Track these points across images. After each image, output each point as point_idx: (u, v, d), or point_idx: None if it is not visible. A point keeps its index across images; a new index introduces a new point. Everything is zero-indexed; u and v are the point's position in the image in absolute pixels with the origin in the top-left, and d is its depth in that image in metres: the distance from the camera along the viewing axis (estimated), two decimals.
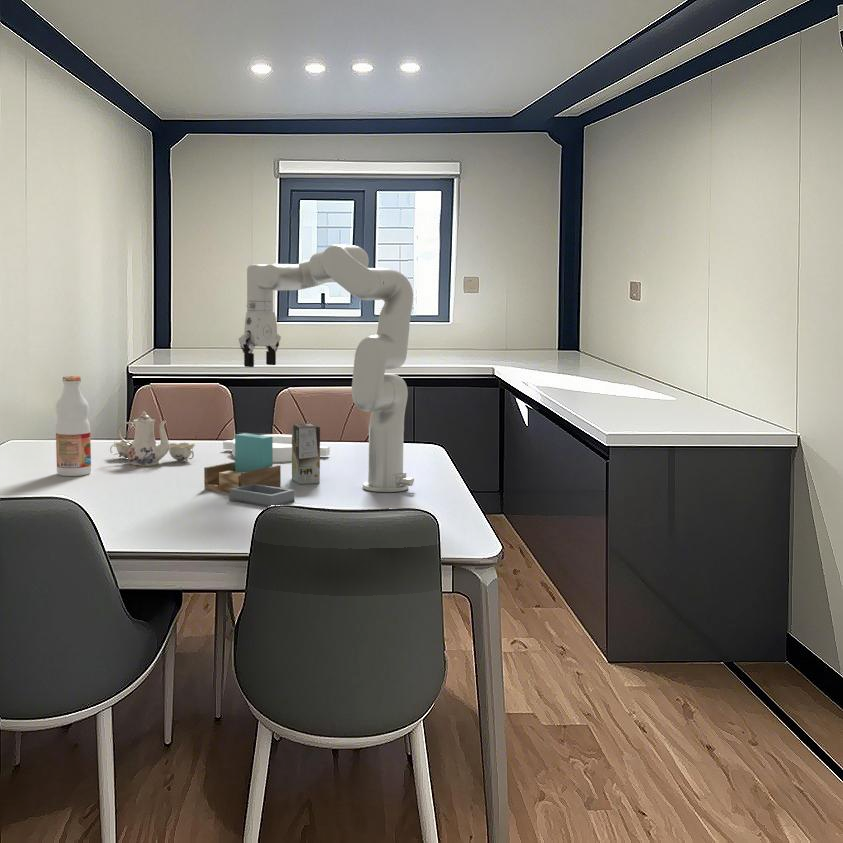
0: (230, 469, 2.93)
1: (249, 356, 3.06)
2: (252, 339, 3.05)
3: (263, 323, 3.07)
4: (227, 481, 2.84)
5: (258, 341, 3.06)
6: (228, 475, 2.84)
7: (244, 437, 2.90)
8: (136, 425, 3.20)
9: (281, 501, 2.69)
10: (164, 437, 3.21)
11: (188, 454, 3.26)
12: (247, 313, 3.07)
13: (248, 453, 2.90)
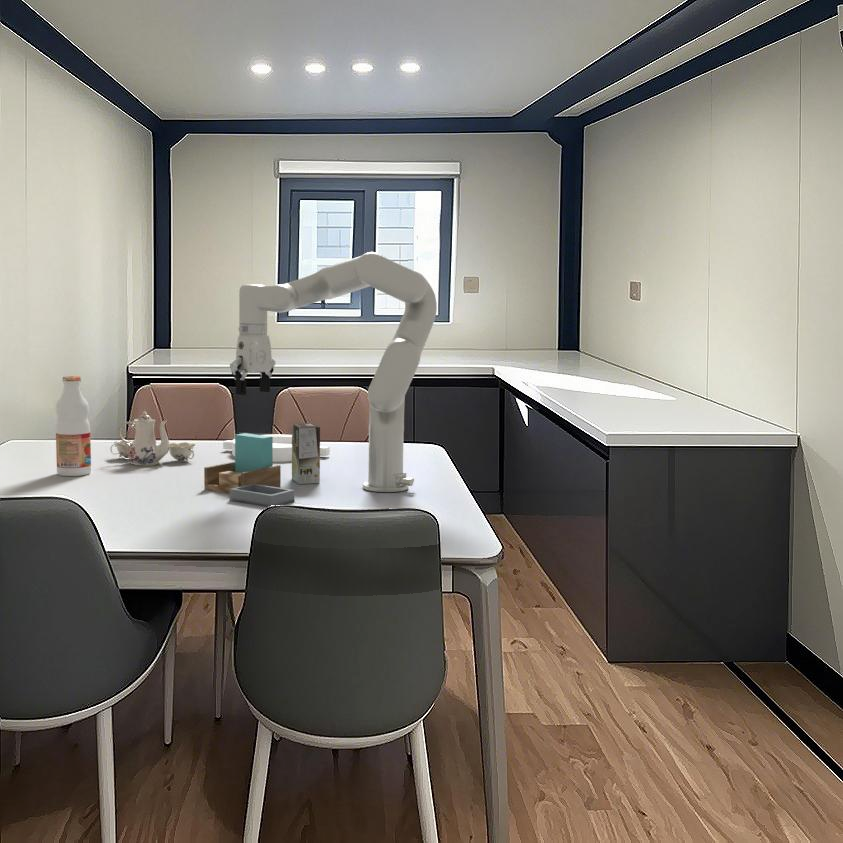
0: (230, 469, 2.93)
1: (241, 383, 2.84)
2: (244, 365, 2.83)
3: (256, 348, 2.85)
4: (227, 481, 2.84)
5: (251, 367, 2.84)
6: (228, 475, 2.84)
7: (244, 437, 2.90)
8: (136, 425, 3.20)
9: (281, 501, 2.69)
10: (164, 437, 3.21)
11: (188, 454, 3.27)
12: (239, 337, 2.84)
13: (248, 453, 2.90)
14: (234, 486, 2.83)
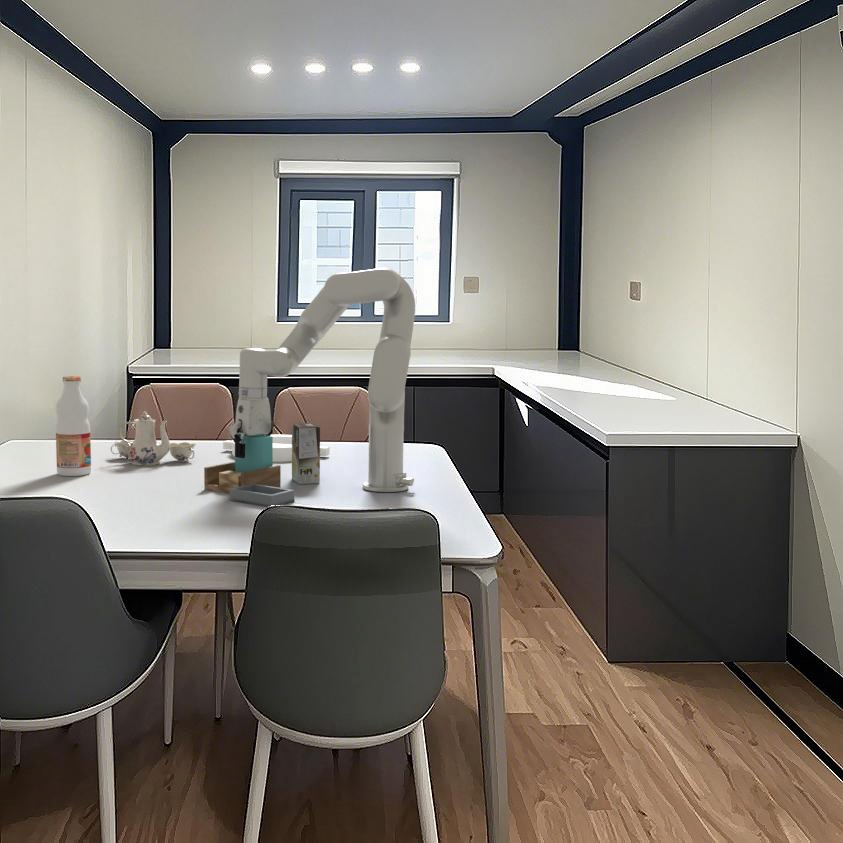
0: (230, 469, 2.93)
1: (240, 446, 2.86)
2: (244, 429, 2.85)
3: (256, 411, 2.87)
4: (227, 481, 2.84)
5: (250, 431, 2.86)
6: (228, 475, 2.84)
7: None
8: (137, 425, 3.20)
9: (281, 501, 2.69)
10: (165, 437, 3.22)
11: (189, 454, 3.27)
12: (239, 400, 2.86)
13: (248, 453, 2.90)
14: (234, 486, 2.83)
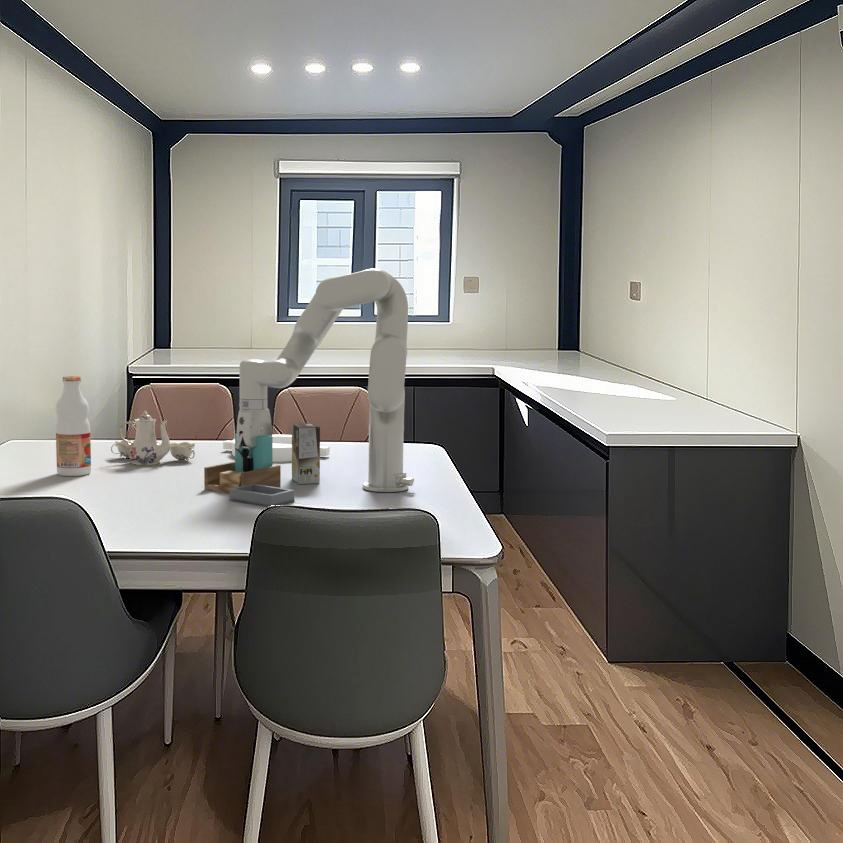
0: (230, 469, 2.93)
1: (248, 461, 2.89)
2: None
3: (257, 422, 2.87)
4: (228, 481, 2.84)
5: (251, 442, 2.86)
6: (229, 475, 2.84)
7: None
8: (137, 425, 3.21)
9: (281, 501, 2.69)
10: (165, 437, 3.22)
11: (189, 454, 3.27)
12: (240, 412, 2.87)
13: None
14: (234, 486, 2.83)
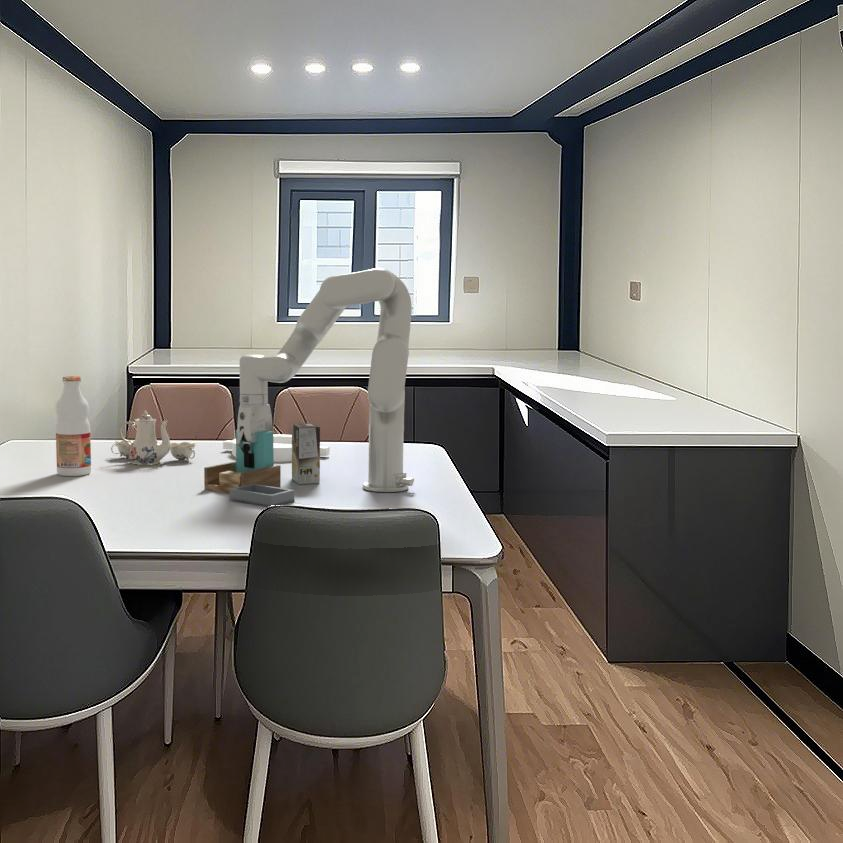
0: (230, 469, 2.93)
1: (249, 456, 2.89)
2: (248, 440, 2.86)
3: (257, 418, 2.87)
4: (228, 481, 2.84)
5: (252, 437, 2.86)
6: (229, 475, 2.84)
7: None
8: (137, 425, 3.21)
9: (281, 501, 2.69)
10: (165, 437, 3.22)
11: (189, 453, 3.28)
12: (240, 407, 2.87)
13: None
14: (234, 486, 2.83)
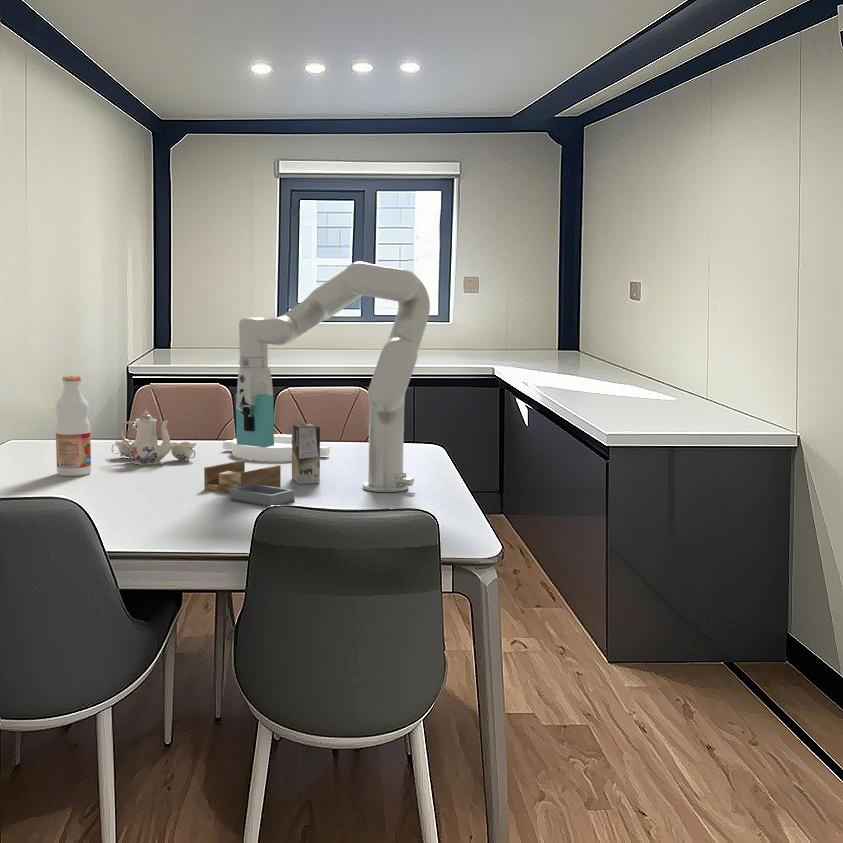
0: (230, 469, 2.93)
1: (249, 420, 2.87)
2: (248, 403, 2.85)
3: (257, 381, 2.86)
4: (228, 482, 2.84)
5: (252, 400, 2.85)
6: (229, 476, 2.84)
7: None
8: (138, 424, 3.21)
9: (281, 501, 2.69)
10: (166, 436, 3.22)
11: (190, 453, 3.28)
12: (240, 370, 2.85)
13: None
14: (234, 486, 2.83)
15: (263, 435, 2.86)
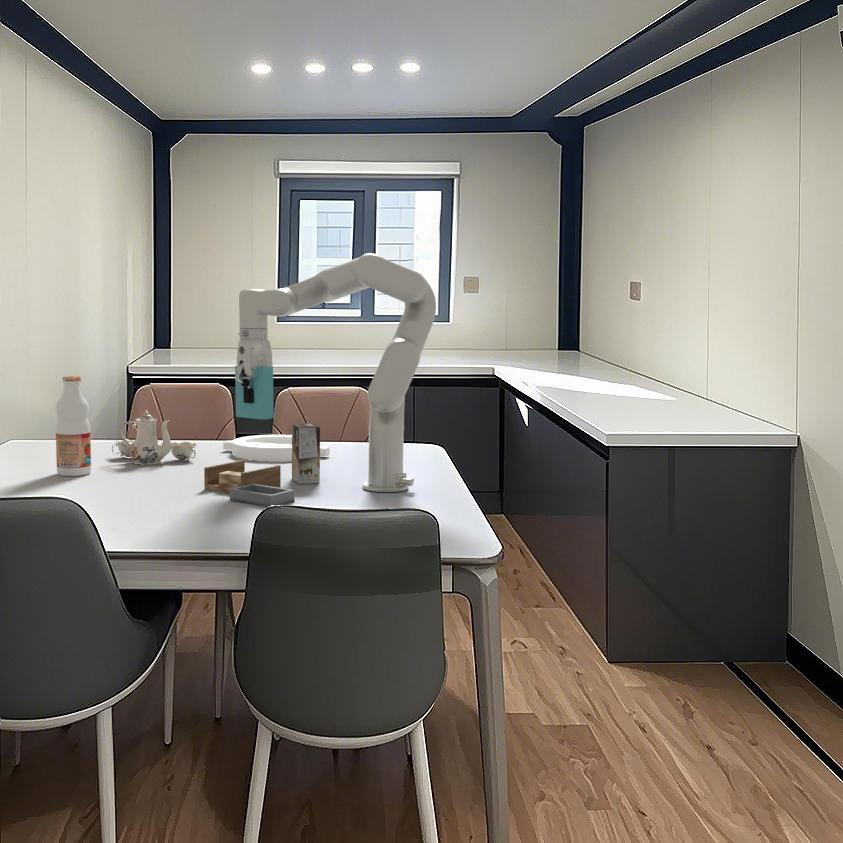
0: (230, 469, 2.93)
1: (249, 392, 2.86)
2: None
3: (257, 352, 2.85)
4: (228, 481, 2.84)
5: (252, 372, 2.84)
6: (229, 475, 2.83)
7: None
8: (138, 424, 3.21)
9: (281, 501, 2.69)
10: (166, 436, 3.23)
11: (190, 453, 3.28)
12: (240, 342, 2.84)
13: None
14: (233, 486, 2.83)
15: (263, 407, 2.85)
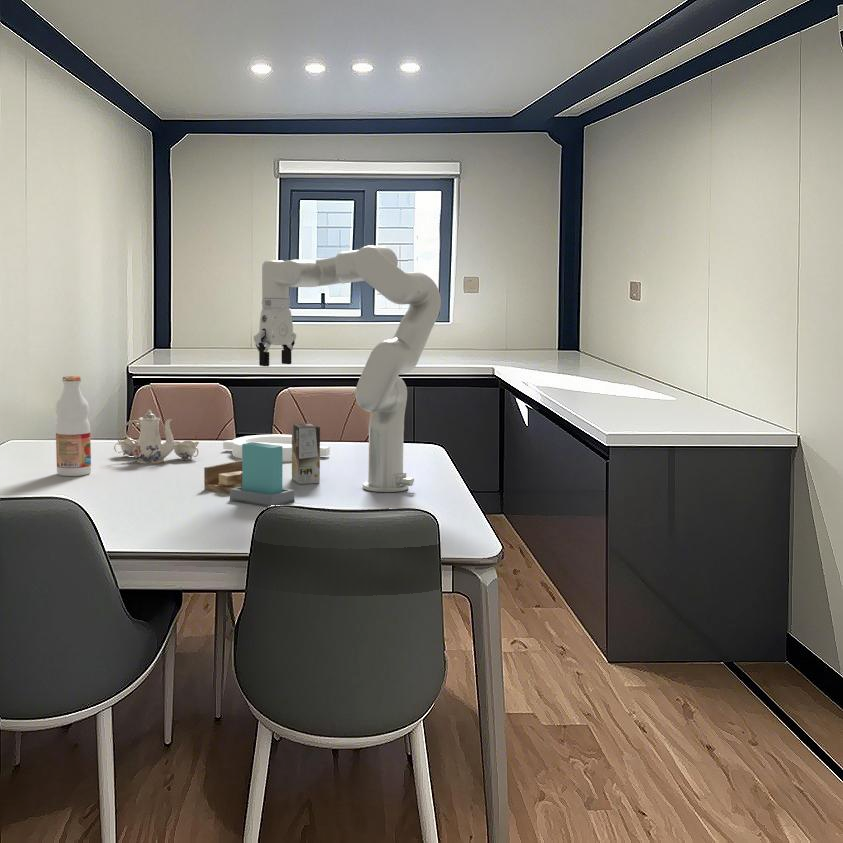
0: (230, 469, 2.93)
1: (264, 355, 2.97)
2: (267, 337, 2.96)
3: (279, 321, 2.98)
4: (236, 482, 2.84)
5: (274, 339, 2.96)
6: (237, 476, 2.84)
7: (252, 446, 2.70)
8: (142, 423, 3.24)
9: (281, 501, 2.69)
10: (169, 435, 3.25)
11: (193, 452, 3.31)
12: (262, 310, 2.97)
13: (256, 463, 2.70)
14: (237, 486, 2.83)
15: (271, 489, 2.68)
